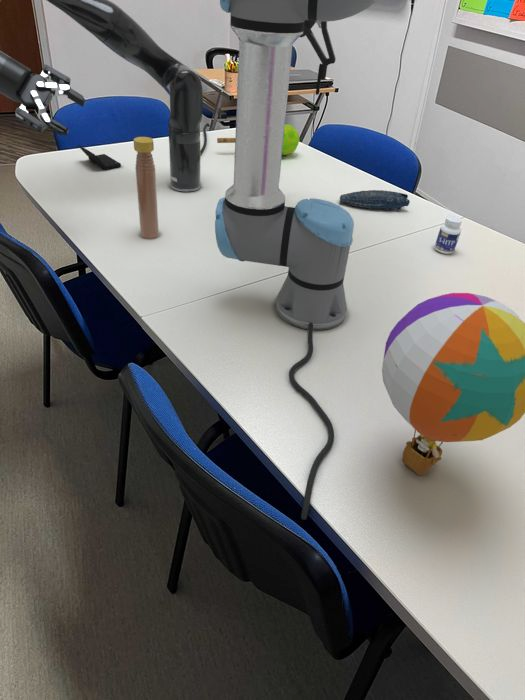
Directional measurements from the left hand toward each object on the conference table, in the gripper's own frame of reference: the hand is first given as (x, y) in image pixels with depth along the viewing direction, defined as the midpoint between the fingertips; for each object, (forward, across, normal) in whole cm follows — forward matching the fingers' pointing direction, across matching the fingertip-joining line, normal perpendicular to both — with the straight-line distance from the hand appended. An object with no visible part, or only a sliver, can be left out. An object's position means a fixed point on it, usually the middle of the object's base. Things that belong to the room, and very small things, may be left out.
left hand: (76, 117), depth 115 cm
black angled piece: (+5, -21, -53) cm, 57 cm away
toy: (+73, +51, +49) cm, 102 cm away
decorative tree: (+50, -54, -46) cm, 87 cm away
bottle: (+26, +9, -15) cm, 32 cm away
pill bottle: (+95, -16, +14) cm, 97 cm away
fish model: (+82, -32, -8) cm, 88 cm away
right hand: (+40, -34, +8) cm, 53 cm away
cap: (+15, -3, +1) cm, 15 cm away
